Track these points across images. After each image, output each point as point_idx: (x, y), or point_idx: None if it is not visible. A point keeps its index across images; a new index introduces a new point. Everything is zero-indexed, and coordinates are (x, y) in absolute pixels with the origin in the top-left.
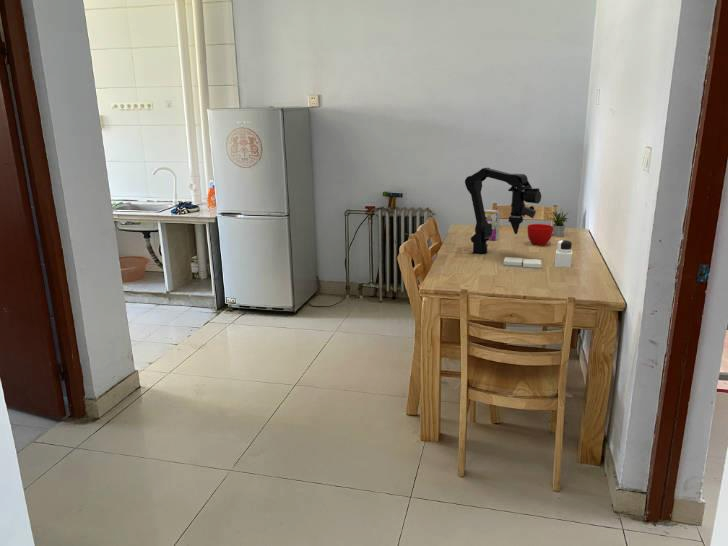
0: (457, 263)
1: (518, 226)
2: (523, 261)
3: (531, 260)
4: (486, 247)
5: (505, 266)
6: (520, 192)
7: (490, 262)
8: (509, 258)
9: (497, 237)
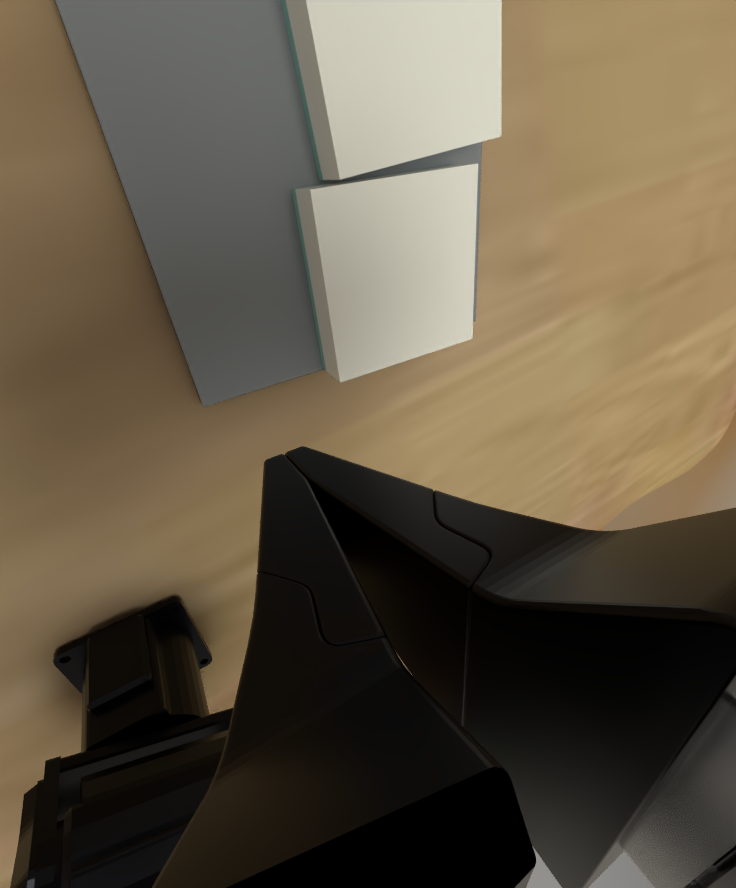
0: None
1: (477, 514)
2: (443, 149)
3: (373, 40)
4: (147, 658)
5: (475, 303)
6: None
7: (366, 453)
8: (377, 328)
9: None
